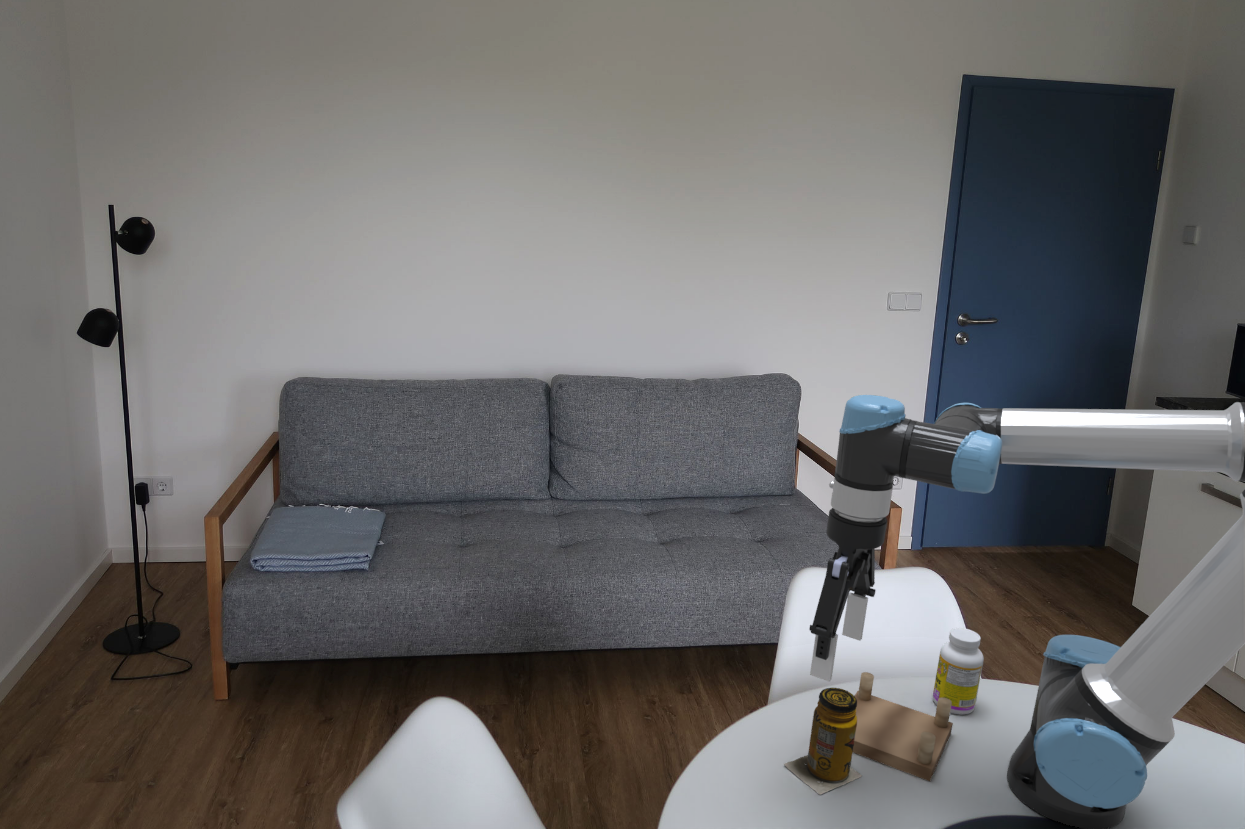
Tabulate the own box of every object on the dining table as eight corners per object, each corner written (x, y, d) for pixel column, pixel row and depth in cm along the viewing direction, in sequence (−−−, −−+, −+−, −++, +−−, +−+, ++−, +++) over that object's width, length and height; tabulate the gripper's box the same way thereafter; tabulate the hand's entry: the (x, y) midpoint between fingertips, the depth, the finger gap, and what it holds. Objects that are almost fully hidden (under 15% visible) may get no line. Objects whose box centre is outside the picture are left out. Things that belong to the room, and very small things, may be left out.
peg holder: (950, 734, 138) (957, 700, 137) (930, 781, 126) (936, 744, 125) (856, 701, 145) (861, 668, 144) (828, 743, 134) (833, 708, 132)
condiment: (862, 776, 127) (873, 702, 124) (820, 796, 122) (830, 719, 119) (825, 749, 132) (835, 677, 129) (783, 766, 128) (792, 692, 125)
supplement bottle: (936, 689, 151) (948, 620, 148) (977, 702, 148) (990, 632, 144) (928, 707, 145) (940, 636, 142) (970, 721, 142) (983, 649, 139)
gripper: (858, 482, 130) (839, 614, 135) (798, 532, 109) (777, 686, 114) (910, 494, 126) (888, 629, 131) (858, 548, 105) (834, 706, 110)
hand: (836, 656), depth 123 cm, fingers open, 13 cm apart
